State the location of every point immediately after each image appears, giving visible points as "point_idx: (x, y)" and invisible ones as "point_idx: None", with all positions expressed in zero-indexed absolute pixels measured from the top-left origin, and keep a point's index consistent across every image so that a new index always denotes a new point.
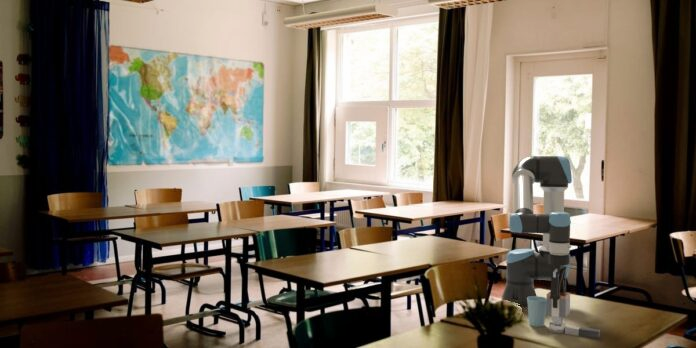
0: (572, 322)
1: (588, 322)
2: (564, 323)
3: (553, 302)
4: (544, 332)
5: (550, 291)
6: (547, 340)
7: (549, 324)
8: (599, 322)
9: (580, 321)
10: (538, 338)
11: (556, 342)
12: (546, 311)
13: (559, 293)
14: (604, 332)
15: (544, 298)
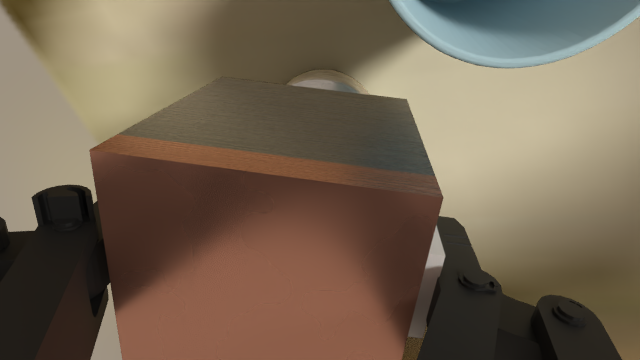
0: (596, 194)
1: (616, 280)
2: None
3: (95, 211)
4: (261, 43)
5: (349, 190)
6: (100, 88)
7: (299, 81)
8: (628, 331)
9: (635, 238)
10: (104, 26)
11: (97, 142)
12: (206, 86)
13: (265, 323)
14: (412, 346)
15: (627, 5)
